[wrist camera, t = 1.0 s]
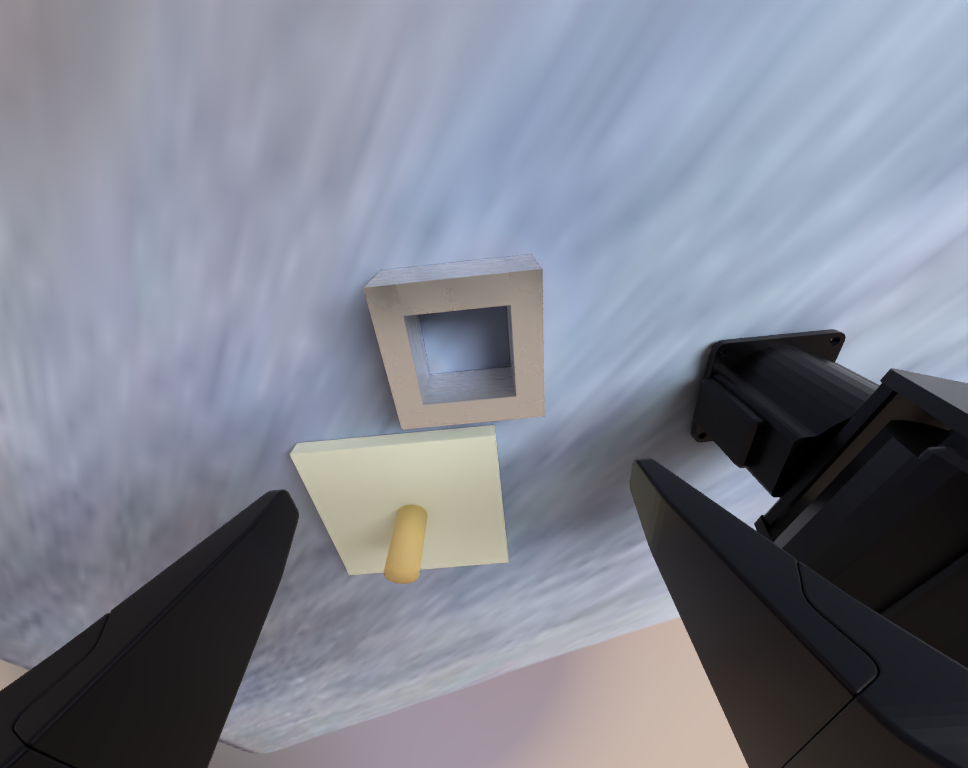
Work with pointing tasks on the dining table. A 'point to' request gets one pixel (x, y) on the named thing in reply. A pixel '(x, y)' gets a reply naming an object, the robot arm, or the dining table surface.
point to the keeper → (408, 499)
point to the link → (452, 289)
